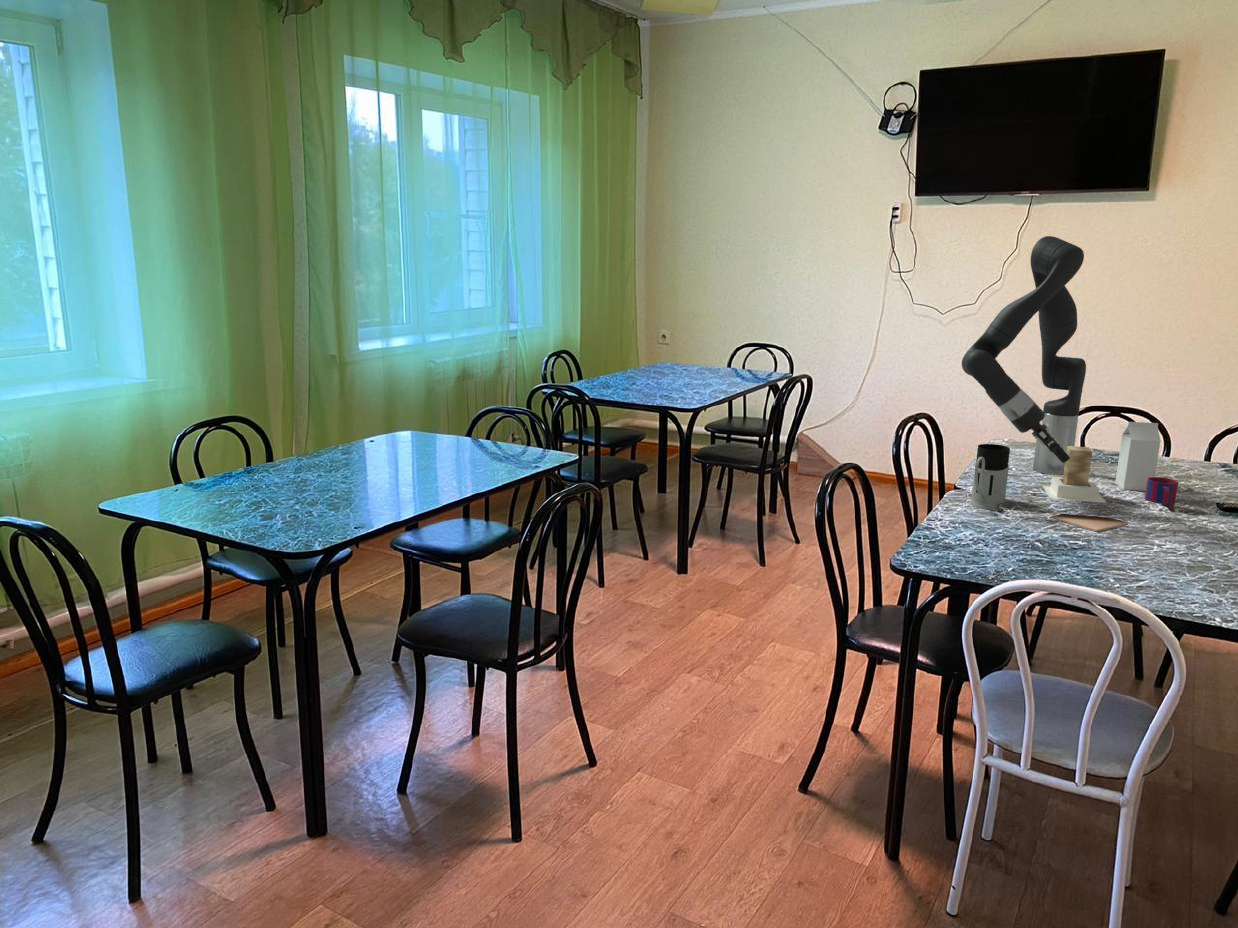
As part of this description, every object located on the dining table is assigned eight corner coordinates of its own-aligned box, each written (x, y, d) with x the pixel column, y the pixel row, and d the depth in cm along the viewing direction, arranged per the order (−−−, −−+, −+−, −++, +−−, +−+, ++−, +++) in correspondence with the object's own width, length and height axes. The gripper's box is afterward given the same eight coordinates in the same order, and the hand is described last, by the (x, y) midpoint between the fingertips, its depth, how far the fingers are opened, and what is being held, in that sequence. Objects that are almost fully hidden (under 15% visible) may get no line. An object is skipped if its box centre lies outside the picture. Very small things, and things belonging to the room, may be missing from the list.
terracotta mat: (1050, 518, 224) (1050, 516, 224) (1081, 511, 229) (1081, 509, 229) (1096, 531, 213) (1096, 529, 213) (1127, 524, 219) (1128, 522, 219)
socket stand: (1049, 504, 236) (1052, 486, 234) (1041, 490, 248) (1043, 474, 247) (1106, 508, 232) (1108, 491, 231) (1094, 494, 244) (1097, 478, 243)
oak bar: (1064, 495, 238) (1070, 450, 235) (1061, 490, 243) (1067, 445, 240) (1086, 497, 237) (1092, 451, 234) (1082, 492, 241) (1088, 447, 238)
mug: (1173, 504, 237) (1177, 478, 235) (1176, 514, 228) (1180, 488, 226) (1143, 501, 239) (1147, 475, 238) (1145, 510, 231) (1149, 484, 229)
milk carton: (1151, 496, 243) (1163, 425, 239) (1122, 494, 245) (1133, 424, 240) (1142, 489, 250) (1153, 420, 246) (1114, 487, 252) (1124, 419, 247)
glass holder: (1011, 504, 234) (1018, 447, 231) (989, 516, 224) (996, 456, 221) (977, 498, 240) (983, 441, 237) (954, 509, 230) (960, 450, 227)
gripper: (1037, 405, 230) (1081, 453, 230) (1029, 396, 244) (1071, 442, 244) (1012, 425, 233) (1056, 472, 233) (1005, 415, 246) (1046, 460, 246)
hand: (1063, 456), depth 238 cm, fingers open, 8 cm apart
